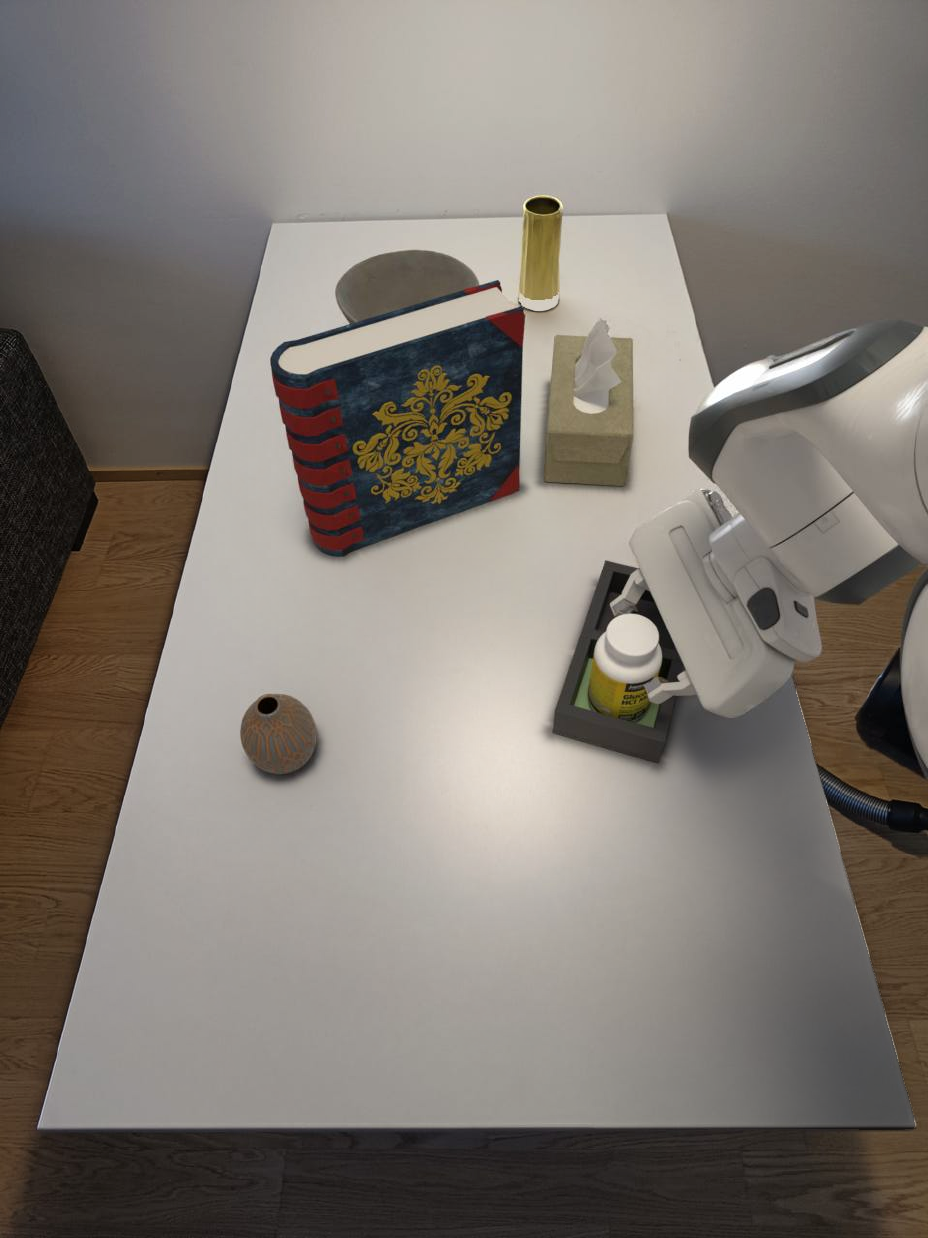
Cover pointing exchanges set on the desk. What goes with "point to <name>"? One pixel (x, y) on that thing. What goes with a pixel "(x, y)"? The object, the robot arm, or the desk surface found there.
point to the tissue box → (590, 409)
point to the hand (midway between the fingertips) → (632, 653)
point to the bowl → (399, 282)
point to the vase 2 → (540, 248)
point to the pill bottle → (624, 667)
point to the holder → (573, 702)
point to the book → (404, 415)
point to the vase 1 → (278, 733)
